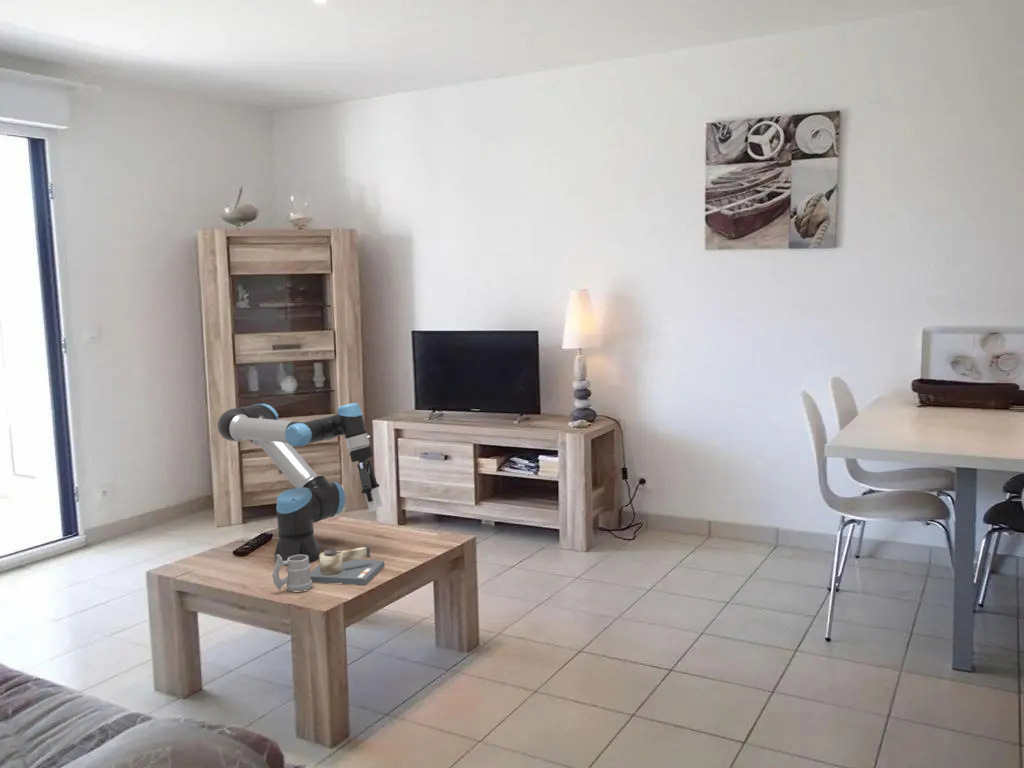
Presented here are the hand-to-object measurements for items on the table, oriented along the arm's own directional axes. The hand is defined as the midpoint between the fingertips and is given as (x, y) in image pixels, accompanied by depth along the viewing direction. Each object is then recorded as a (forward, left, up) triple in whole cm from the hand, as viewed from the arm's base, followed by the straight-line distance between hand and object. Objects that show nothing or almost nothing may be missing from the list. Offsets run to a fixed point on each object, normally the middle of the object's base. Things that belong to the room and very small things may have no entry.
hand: (376, 508), depth 286 cm
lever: (-4, -18, -15) cm, 24 cm away
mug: (-16, -32, -17) cm, 40 cm away
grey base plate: (-5, -17, -17) cm, 25 cm away
